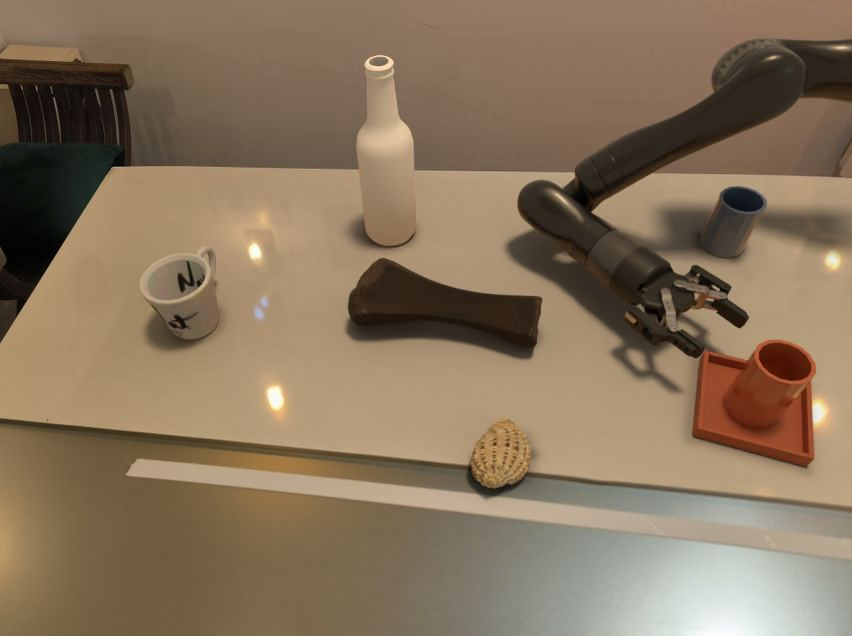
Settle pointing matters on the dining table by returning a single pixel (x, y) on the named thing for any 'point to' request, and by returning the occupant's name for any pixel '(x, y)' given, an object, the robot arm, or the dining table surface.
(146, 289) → the mug
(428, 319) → the dark brown bone
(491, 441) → the seashell
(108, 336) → the dining table surface
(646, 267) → the robot arm
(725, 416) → the terracotta tray
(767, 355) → the terracotta cup
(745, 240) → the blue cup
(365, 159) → the alcohol
